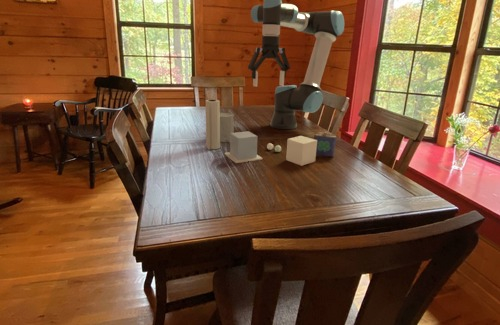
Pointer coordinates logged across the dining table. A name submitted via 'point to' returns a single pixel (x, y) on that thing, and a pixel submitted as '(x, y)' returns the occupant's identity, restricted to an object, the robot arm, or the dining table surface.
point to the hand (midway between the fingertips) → (268, 86)
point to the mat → (242, 159)
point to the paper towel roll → (212, 124)
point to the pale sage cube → (243, 145)
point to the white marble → (270, 146)
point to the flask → (325, 145)
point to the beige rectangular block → (301, 150)
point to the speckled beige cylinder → (226, 126)
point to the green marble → (277, 148)
